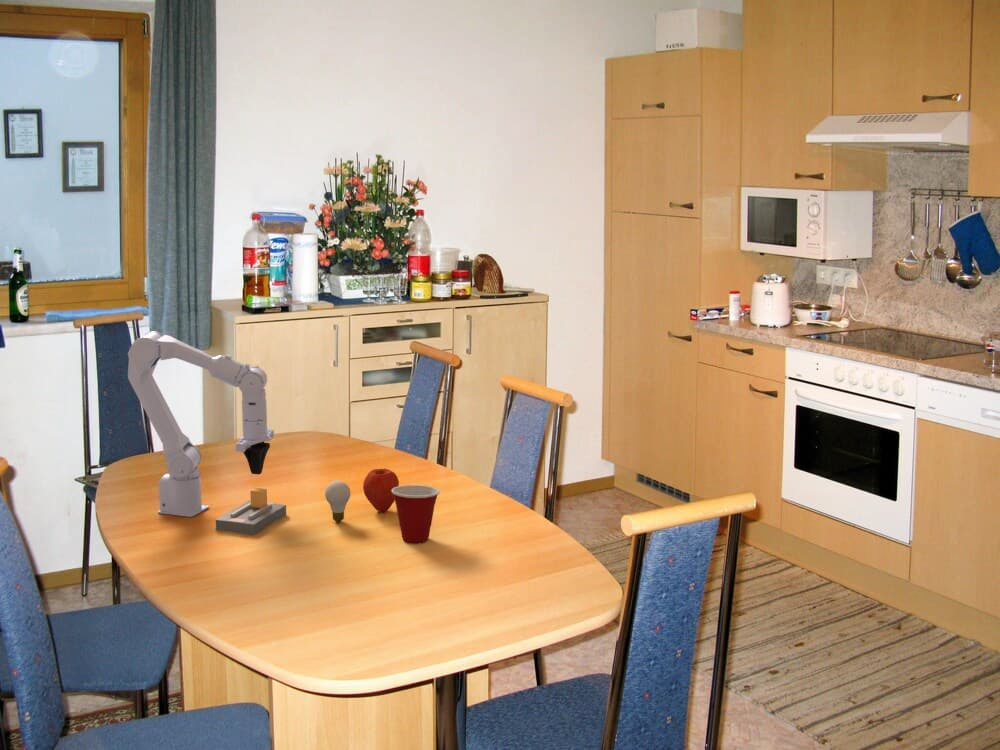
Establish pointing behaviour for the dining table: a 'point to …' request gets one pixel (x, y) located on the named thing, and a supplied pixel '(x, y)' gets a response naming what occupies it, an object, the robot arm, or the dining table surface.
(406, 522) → the plastic cup
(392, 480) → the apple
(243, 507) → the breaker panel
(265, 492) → the handle
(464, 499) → the dining table surface
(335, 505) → the light bulb
